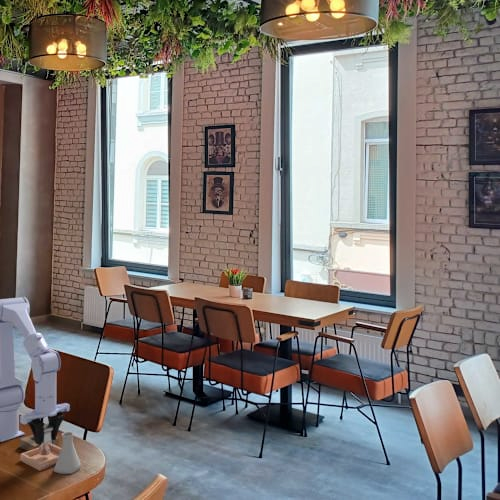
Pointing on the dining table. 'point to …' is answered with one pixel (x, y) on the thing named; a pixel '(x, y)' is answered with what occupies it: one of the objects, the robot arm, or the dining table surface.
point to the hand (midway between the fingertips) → (45, 441)
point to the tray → (41, 458)
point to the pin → (46, 439)
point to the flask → (67, 456)
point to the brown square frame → (33, 443)
